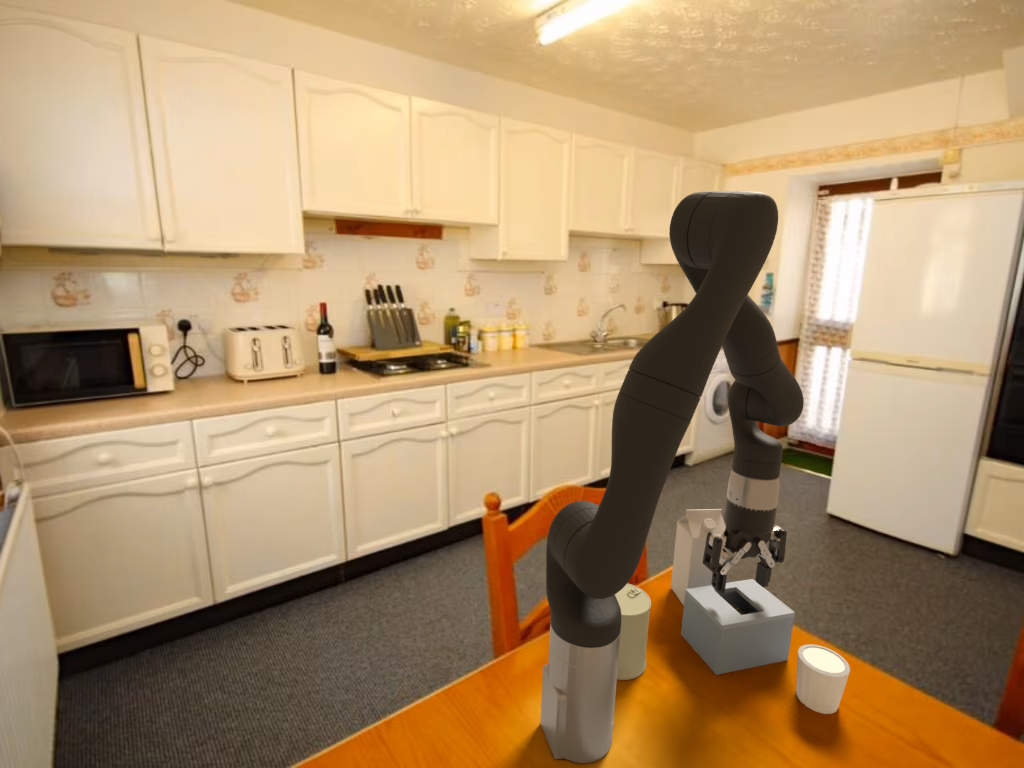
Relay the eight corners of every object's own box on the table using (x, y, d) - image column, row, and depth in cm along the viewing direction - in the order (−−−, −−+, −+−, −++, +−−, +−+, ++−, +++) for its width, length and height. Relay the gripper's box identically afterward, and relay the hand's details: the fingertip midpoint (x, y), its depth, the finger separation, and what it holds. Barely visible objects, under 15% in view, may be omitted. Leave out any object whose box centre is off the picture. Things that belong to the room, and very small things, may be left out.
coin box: (716, 674, 85) (722, 625, 83) (680, 634, 94) (685, 589, 92) (787, 660, 89) (795, 612, 87) (746, 622, 98) (752, 578, 96)
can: (657, 665, 87) (664, 600, 84) (617, 689, 81) (623, 620, 79) (616, 633, 94) (621, 573, 91) (578, 653, 89) (581, 589, 86)
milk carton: (670, 588, 108) (679, 502, 104) (703, 586, 109) (713, 501, 105) (685, 609, 101) (695, 518, 97) (720, 608, 102) (731, 517, 98)
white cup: (850, 721, 77) (858, 679, 75) (799, 712, 78) (806, 671, 76) (832, 686, 83) (839, 647, 82) (785, 678, 84) (791, 640, 83)
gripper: (729, 512, 80) (718, 607, 84) (805, 504, 84) (791, 595, 87) (699, 492, 87) (690, 580, 91) (771, 485, 91) (759, 570, 94)
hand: (740, 587), depth 89 cm, fingers open, 8 cm apart
